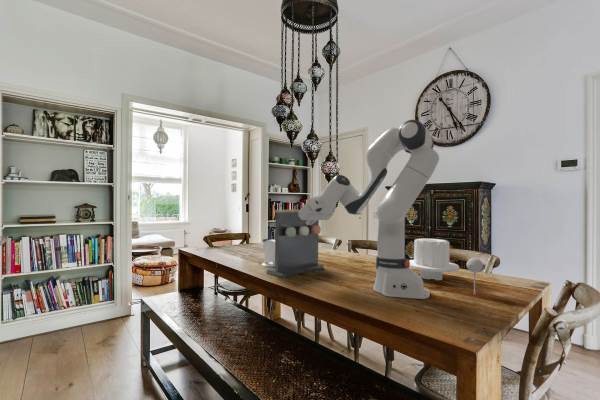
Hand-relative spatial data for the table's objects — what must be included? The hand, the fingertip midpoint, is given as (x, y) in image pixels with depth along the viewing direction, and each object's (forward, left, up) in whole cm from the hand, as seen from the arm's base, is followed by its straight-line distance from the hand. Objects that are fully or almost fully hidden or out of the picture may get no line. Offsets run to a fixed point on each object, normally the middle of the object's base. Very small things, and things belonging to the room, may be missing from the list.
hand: (308, 224), depth 150 cm
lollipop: (-72, -6, -27) cm, 77 cm away
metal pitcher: (+32, -20, -27) cm, 47 cm away
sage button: (+10, -2, -7) cm, 13 cm away
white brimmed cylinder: (-55, -30, -27) cm, 68 cm away
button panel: (+11, -12, -27) cm, 31 cm away
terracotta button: (+4, -21, -7) cm, 22 cm away
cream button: (+7, -11, -7) cm, 15 cm away
